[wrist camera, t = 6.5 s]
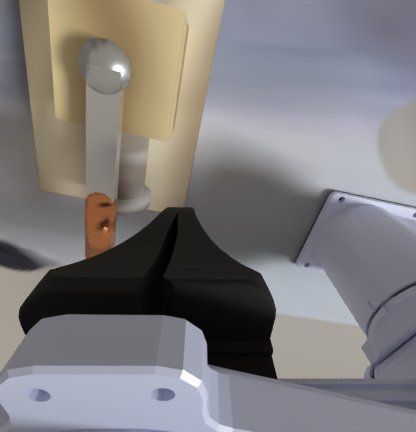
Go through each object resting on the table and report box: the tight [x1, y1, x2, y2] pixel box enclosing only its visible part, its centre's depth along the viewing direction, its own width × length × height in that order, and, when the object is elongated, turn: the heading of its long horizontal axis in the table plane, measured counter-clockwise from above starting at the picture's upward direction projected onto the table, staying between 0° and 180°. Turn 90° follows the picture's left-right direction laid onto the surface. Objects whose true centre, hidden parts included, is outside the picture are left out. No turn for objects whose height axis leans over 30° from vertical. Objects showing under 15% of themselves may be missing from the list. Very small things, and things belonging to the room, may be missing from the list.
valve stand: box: [19, 0, 225, 215], centre depth 13 cm, size 11×19×6 cm, turn 167°
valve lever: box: [78, 38, 133, 259], centre depth 13 cm, size 12×2×2 cm, turn 167°
